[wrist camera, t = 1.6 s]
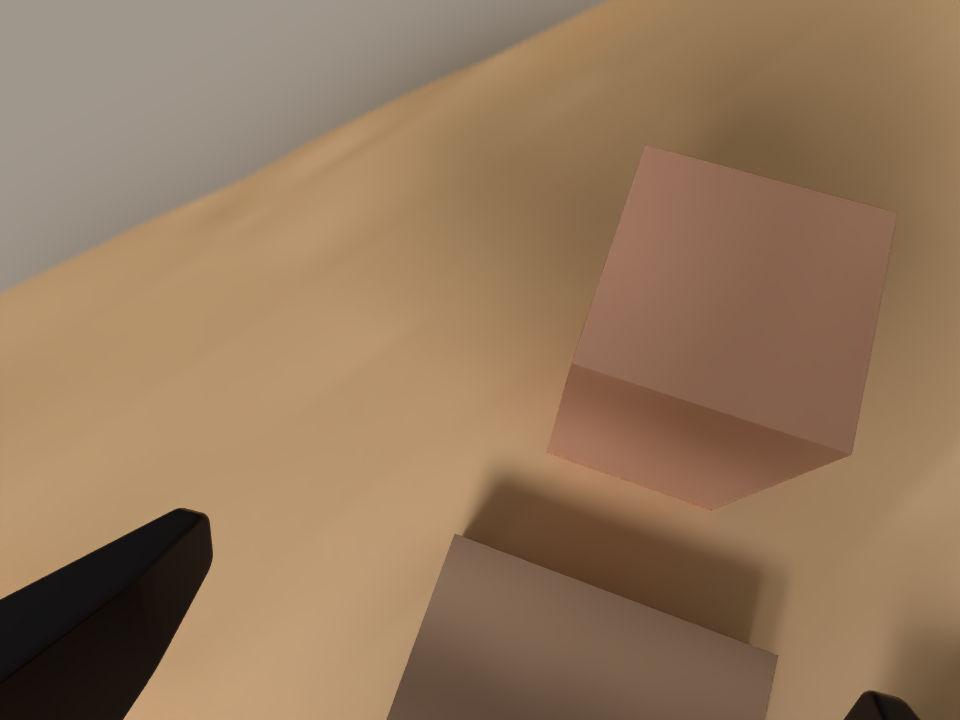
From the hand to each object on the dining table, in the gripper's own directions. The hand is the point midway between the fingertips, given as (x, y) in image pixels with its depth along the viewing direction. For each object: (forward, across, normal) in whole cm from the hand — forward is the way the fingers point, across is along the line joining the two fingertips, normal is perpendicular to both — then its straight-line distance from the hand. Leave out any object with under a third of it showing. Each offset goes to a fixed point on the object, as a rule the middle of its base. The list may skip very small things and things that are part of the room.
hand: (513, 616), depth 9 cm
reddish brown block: (+15, -3, +6) cm, 17 cm away
